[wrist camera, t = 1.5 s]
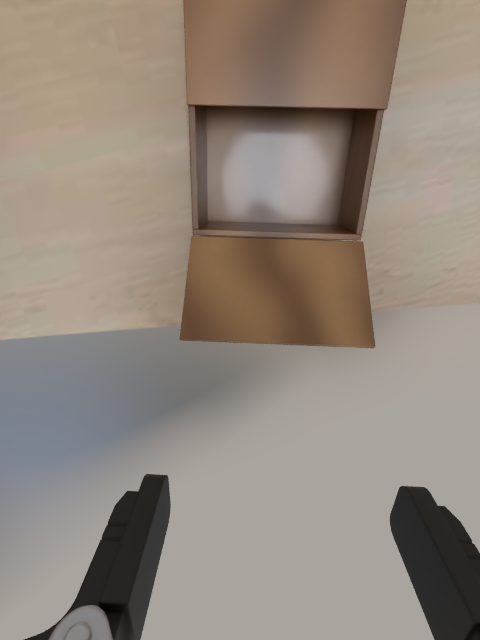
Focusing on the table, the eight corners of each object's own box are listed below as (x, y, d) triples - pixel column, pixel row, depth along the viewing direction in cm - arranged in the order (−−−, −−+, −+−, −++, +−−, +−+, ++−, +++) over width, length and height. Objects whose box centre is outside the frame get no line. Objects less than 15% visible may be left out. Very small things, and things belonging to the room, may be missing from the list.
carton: (376, -7, 25) (421, -75, 18) (340, 229, 32) (363, 242, 25) (199, -9, 25) (179, -77, 18) (203, 225, 32) (191, 236, 26)
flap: (375, 347, 22) (373, 348, 22) (363, 241, 25) (361, 243, 26) (179, 339, 22) (180, 340, 23) (191, 235, 26) (192, 238, 26)
